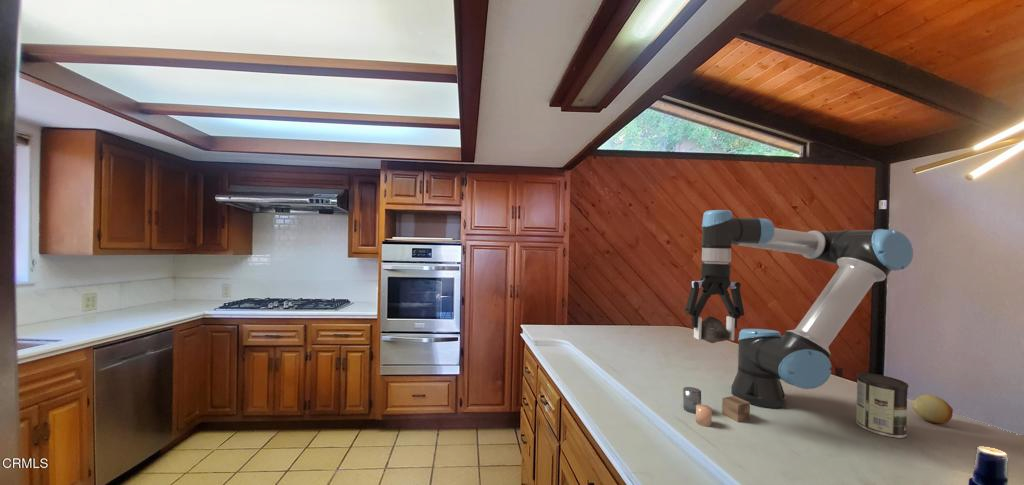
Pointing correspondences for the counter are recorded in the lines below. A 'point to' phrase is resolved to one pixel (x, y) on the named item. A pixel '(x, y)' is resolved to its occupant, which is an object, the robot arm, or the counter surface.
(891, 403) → the coffee can
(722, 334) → the stone
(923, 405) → the fruit
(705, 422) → the peach rounded capsule
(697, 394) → the metal tin
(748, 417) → the walnut block
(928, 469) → the counter surface
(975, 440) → the counter surface
